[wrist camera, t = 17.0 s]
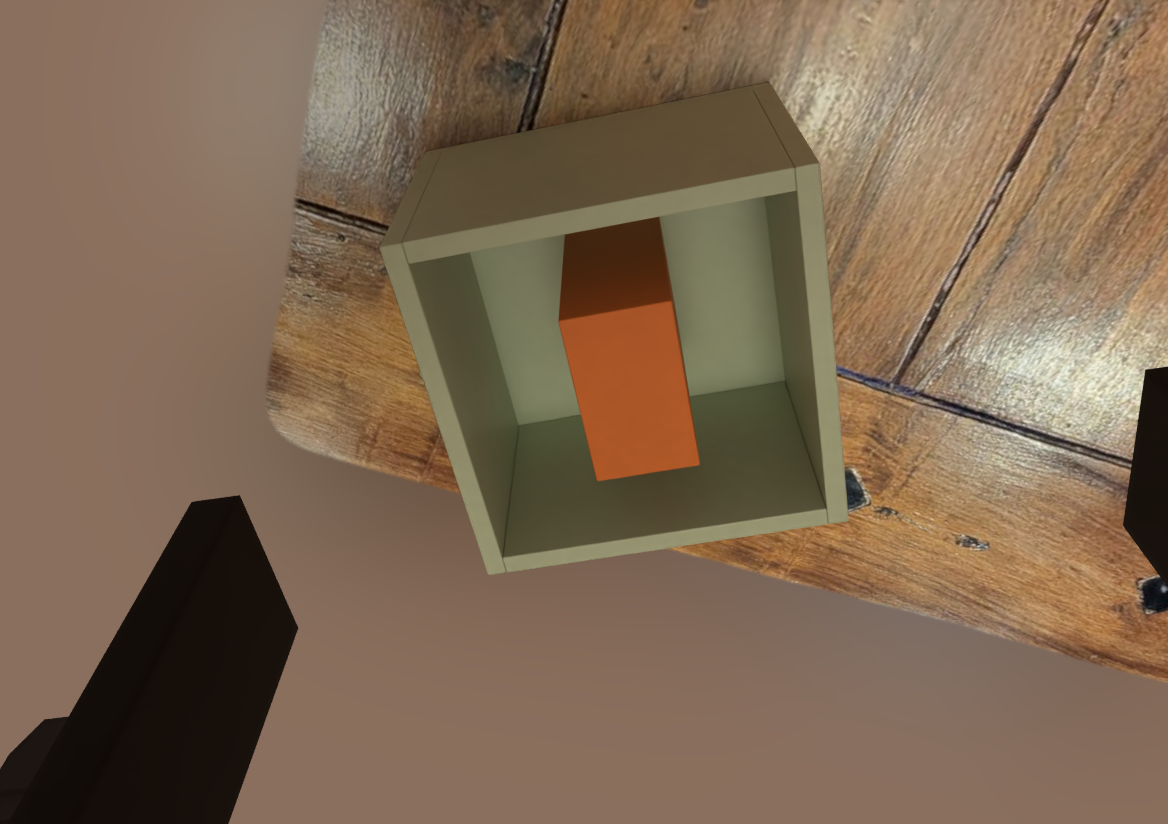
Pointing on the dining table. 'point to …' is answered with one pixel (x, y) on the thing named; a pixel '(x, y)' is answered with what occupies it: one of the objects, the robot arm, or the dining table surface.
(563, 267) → the orange rectangular prism
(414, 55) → the dining table surface
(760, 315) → the open square bin
